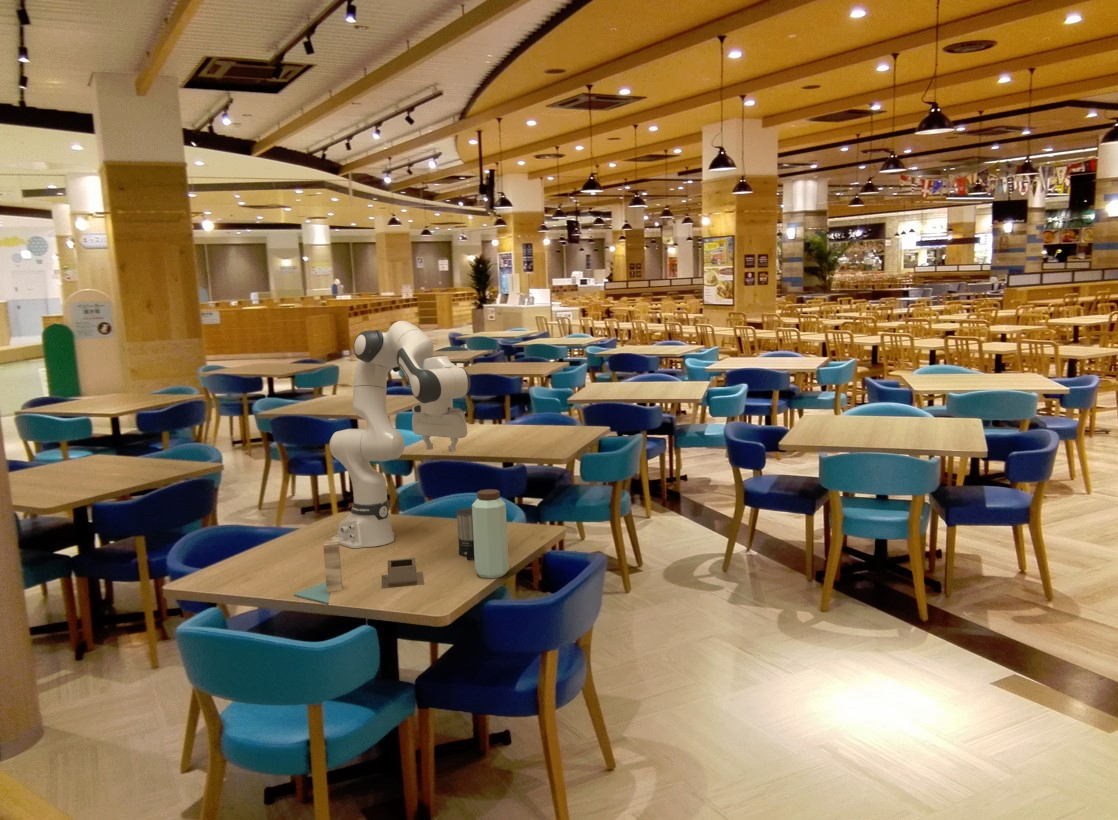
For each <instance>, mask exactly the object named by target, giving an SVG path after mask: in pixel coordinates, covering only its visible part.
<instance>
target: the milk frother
mask: <svg viewBox="0 0 1118 820" xmlns="http://www.w3.org/2000/svg"><path fill="white" fill-rule="evenodd" d="M455 514H456V523H457V535H458V536H457V537H458V555H459V556H461V557H462V558H463V557H464V558H466V560H467V561H468V560H470V561H471V560H473V561H475V558H474V537H473V517H472V507H466V508H459V509H458V510H456V511H455Z"/></svg>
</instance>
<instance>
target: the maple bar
mask: <svg viewBox="0 0 1118 820" xmlns="http://www.w3.org/2000/svg"><path fill="white" fill-rule="evenodd" d="M323 558H324V560H323V561H324V572H325V573H324V574H325V582H326V588H327V593H330V594H331V592H339V591H342V590H343V579H342V578H343V577H342V563H341V562H342V561H341V550H340V544H339V540H334V541H331V540H325V541H323Z"/></svg>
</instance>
